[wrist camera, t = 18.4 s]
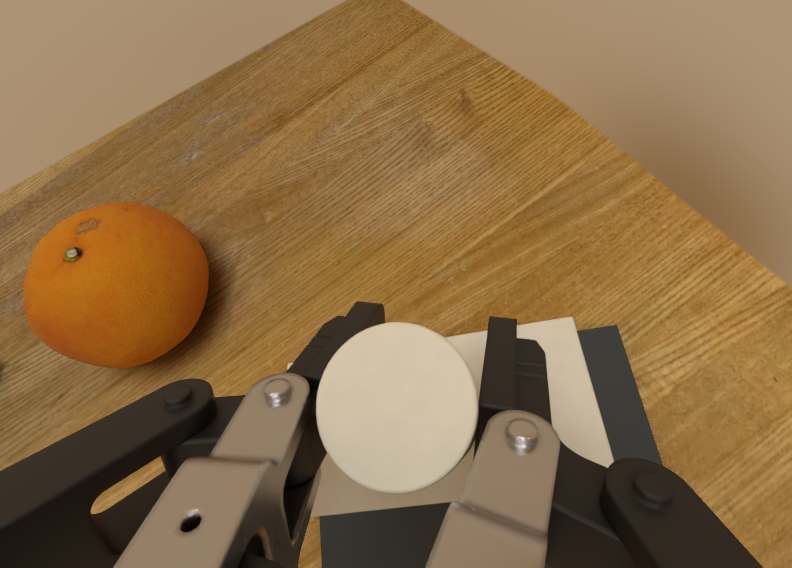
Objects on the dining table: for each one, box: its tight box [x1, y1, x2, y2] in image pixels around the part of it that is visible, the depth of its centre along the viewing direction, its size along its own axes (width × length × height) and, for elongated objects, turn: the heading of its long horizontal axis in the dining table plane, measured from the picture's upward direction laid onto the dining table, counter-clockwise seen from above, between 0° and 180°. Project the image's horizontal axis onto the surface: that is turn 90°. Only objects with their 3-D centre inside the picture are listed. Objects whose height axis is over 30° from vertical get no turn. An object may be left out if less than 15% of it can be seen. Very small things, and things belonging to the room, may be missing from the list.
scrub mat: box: [320, 325, 663, 568], centre depth 22 cm, size 18×14×1 cm
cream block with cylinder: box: [287, 317, 614, 517], centre depth 12 cm, size 10×5×10 cm, turn 97°
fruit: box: [23, 202, 209, 368], centre depth 26 cm, size 10×10×8 cm
